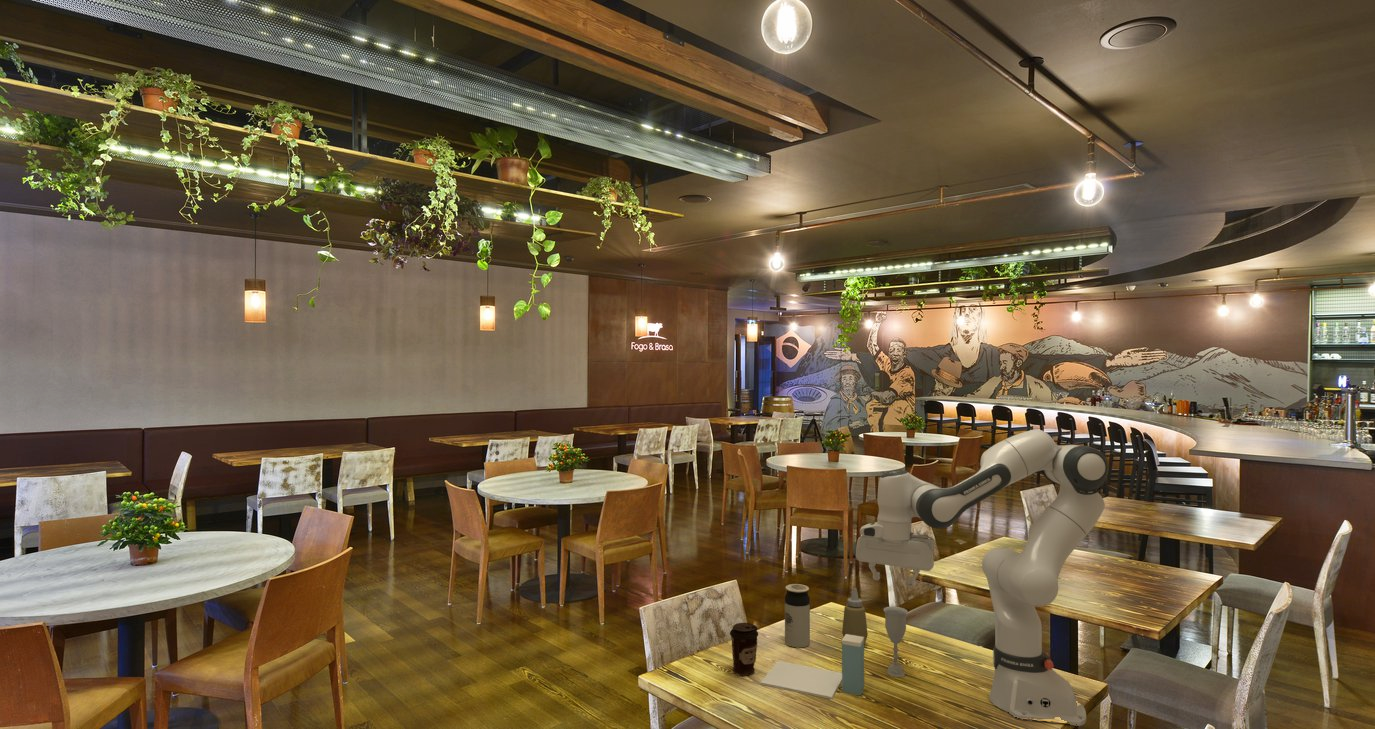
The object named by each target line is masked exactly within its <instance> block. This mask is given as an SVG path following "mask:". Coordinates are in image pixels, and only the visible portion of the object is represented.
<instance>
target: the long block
mask: <svg viewBox="0 0 1375 729" xmlns="http://www.w3.org/2000/svg"><path fill="white" fill-rule="evenodd" d="M841 673H842V682H841V692H842V693H845V694H851V695H857V696H862V693H863V691H864V689H865V645H864V637H861V636H855V635H849V634H846V635H845V636H844V637H843V638H842V640H841Z"/></svg>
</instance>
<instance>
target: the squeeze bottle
mask: <svg viewBox="0 0 1375 729" xmlns="http://www.w3.org/2000/svg"><path fill="white" fill-rule="evenodd" d="M850 595H851V596H850V597H848V598H847V601H846V602H847V604H846V605H845V606H844V610H843V620H842V628H841V631H842V632H841V635H842V636H843V638H844V636H845V635H846V634H849V635H855V636H861V637H864V646H865V644H866V642H867V638H868V636H869V634H868V625H867V615H866V614H867V612H866V607H864V605H863V600H862V598H859V593H858V589H857V587H853V588H852V591H851V594H850Z"/></svg>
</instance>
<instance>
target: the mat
mask: <svg viewBox="0 0 1375 729" xmlns="http://www.w3.org/2000/svg"><path fill="white" fill-rule="evenodd" d="M760 685H761V686H765V687H771V688H776V689H780V690H784V691H785V690H786V691H790V692H795V693H800V694H805V695H809V696H813V697H819V698H824V699H828V700H833V698H834V696H835V695H836V693H837V691H838V688H839V687H840V685H842V672H839V671H833V670H829V669H823V668H818V667H813V666H807V665H803V664H798V663H797V664H796V663H792V662H786V661H782V660H778V661H777V662H776V663H775V664H774V666H772V668H770V670H769V671H768V672H767V674H766V675H765V676H764V678H763V679H762V680H761V681H760Z"/></svg>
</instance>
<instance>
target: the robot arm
mask: <svg viewBox="0 0 1375 729" xmlns="http://www.w3.org/2000/svg"><path fill="white" fill-rule="evenodd" d="M979 465H980V468H979V470H978V471H977V472H975V474H973V475H971V476H970V477H968V478H966V479H964V480H963V481H961V482H959V483H957V484H955V485H953V486H951V487H943V488H942V487H939V486H938V485H935V484H933V483H931V482H928V481H924V480H922V479H919V478H918V477H916V476H914V475H913V474H911V473H910V472H909V471H907V470H906V469H905V470H903V469H895V470H890V471H886V472H884V473H882V474H881V476H880V477H879V481H878V486H877V487H878V488H877V505H878V514H877V519H876V520H877V521H876V522H870V523H867V524H864V525H862V526H861V527H860V529H859V537H858V538H857V542H856V547H855V558H856V560H857V561H858V562H863V563H868V568H869V569H870V571H871V573H872V579H873V580H875V581H879V580H880V579H881V572H880V571H877V569H876V567H875V566H876V565H883V566H884V565H885V566H890V567H899V568H905V569H912V573H913V574H914V575H913V576H910V577H908V585H909V586H916V578H917V577H918V576H919V574H920V571H924V572H925V571H926V572H930V571H931V570H932V569H933V568H934V566H935V559H934V551H935V540H934V539H933V538H932V537H931V536H929V535H928V534H926V533H923V534H922V533H921V534H920V533H918V532H916V533H915V532H912V519H913V518H919V519H920V520H921V521H922V522H923V523H925V525H926V526H929V527H930V528H933V529H937V530H938V529H939V530H941V529H943V530H944V529H947V528H949V527H951V526H952V525H953V524H954V523H956V522H957V521H958V519H959V518H960V517H961V516H962V515H963V514H964V513H965V511H967V510H968V509H970V508H972V507H973V506H976V504H978V503H980V502H982V501H984V500H985V499H987V498H989V497H990V496H992V495H994V494H995V493H997V492H999V491H1001V490H1002V489H1004V488H1006V487H1008V486H1010V485H1012V484H1014V483H1016V482H1019V481H1021V480H1024V479H1026V478H1027V477H1029V476H1031V475H1033V474H1035V473H1037V472H1039V473H1040V474H1041V475H1042V476H1043V477H1044V478H1045V479H1047V480H1048V481H1049V482H1051V483H1053V484H1055V485H1059V491H1058V494H1057V495H1056V497H1055V499H1054V500H1053V501H1052V502H1050V504H1049V505H1048V506H1047V507H1046V509H1045V510H1044V511H1043V512H1042V513H1040V515H1039V516H1038V517H1037V518H1036V519H1035V520H1034V521H1033V523H1031V525H1029V527H1028V537H1027V538H1028V539H1027V541H1026V543H1025V545H1024V548H1023V549H1022V551H1021V552H1018V551H1017V550H1013V549H1011V548H1007V547H1005V548H1004V547H995V548H991V549H990V550H988V551H987V552H986V553H984V556H983V558H982V561H981V568H982V572H983V574H984V575H985V577H986V580H987V584H988V588H989V595H990V598H991V603H992V608H993V614H994V630H995V631H994V632H995V635H994V640H995V641H994V642H995V644H994V645H993V649H992V650H993V651H992V661H993V662H992V663H993V668H994V671H993V679H992V685H991V689H990V692H989V695H988V699H989V701H990V702H991V703H992V704H993V705H994V706H996V707H997V708H999V709H1001V710H1002V711H1005V712H1007V713H1008V712H1009V713H1008V714H1009V715H1011V716H1012V715H1013V716H1012V717H1014V718H1015V717H1017V718H1016V719H1018V718H1029V719H1030V718H1031V719H1034V718H1035V719H1036V718H1037V719H1054V718H1055V717H1060V718H1061V720H1064V721H1067V722H1069V723H1070V725H1069V726H1074V727H1075V726H1076V727H1077V726H1079V727H1081V726H1083V725H1085V724H1086V723H1087V712H1086V708H1085V707H1084V706H1083V704H1082V703H1081V705H1079V706H1077V703H1076V700H1077V697H1076V695H1075V694H1076V693H1075V692H1074V689H1073V687H1072V685H1071V684H1070V682H1069V681H1068V680H1066V679H1065V678H1063V677H1062V676H1061V675H1060V674H1059V673H1058V672H1056V670H1054V667H1055V666H1054V661H1052V660H1051V656H1050V655H1049V654H1050V653H1048V652H1047V651H1046V652H1044V651H1043V650H1042V644H1043V643H1042V642H1043V640H1042V639H1043V636H1042V632H1043V630H1042V628H1043V627H1042V626H1043V625H1042V621H1041V618H1040V616H1039V614H1038V611H1037V610H1036V607H1039V608H1042V607H1046V606H1048V605H1050V604H1052V603H1053V602H1054V601H1055V600H1056V598H1057V596H1058V594H1059V583H1058V582H1059V576H1060V574H1061V571H1062V569H1063V567H1064V564H1065V562H1066V560H1067V559H1068V558H1069V556H1070V555H1071V554H1072V553H1073V551H1074V550H1075V549H1076V548H1077V546H1078V545H1079V544H1081V542H1082V541H1083V540H1084V539H1085V537H1087V536H1088V535H1089V533H1090V531H1091V530H1093V528H1094V526H1095V525H1097V522H1098V521H1099V519H1100V517H1101V516H1102V514H1103V512H1104V510H1105V508H1106V507H1105V506H1106V505H1105V504H1106V503H1105V500H1104V498H1103V496H1102V495H1101V494H1100V491H1102V490H1103V489H1104V486H1105V481H1106V480H1107V477H1108V474H1109V471H1110V470H1109V469H1110V466H1109V461H1108V459H1107V457H1106V456H1105V455H1104V453H1102V452H1101V451H1100V450H1098V449H1096V448H1094V447H1092V446H1089V445H1079V444H1065V445H1058V444H1057V443H1055V441H1054V439H1053V437H1051V435H1050V434H1049V433H1047V432H1045V431H1044V430H1041V429H1038V428H1037V429H1036V428H1035V429H1031V430H1028V431H1023V432H1020V433H1017V434H1013V435H1012V436H1009V437H1007V438H1005V439H1003V440H1001V441H999V442H997V443H995V444H993V445H992V446H991V447H989V448H988V449H986V450H985V451H984V452H983V453H982V455H981V457H980V463H979ZM1076 724H1077V725H1076Z"/></svg>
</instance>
